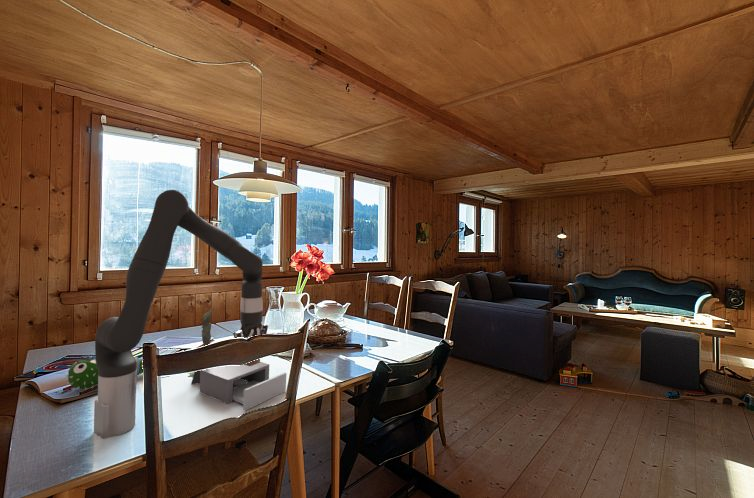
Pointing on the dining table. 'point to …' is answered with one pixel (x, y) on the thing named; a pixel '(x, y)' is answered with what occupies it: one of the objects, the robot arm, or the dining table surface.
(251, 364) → the walnut block
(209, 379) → the grey drawer cabinet
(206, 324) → the statue
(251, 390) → the grey drawer
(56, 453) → the dining table surface
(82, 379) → the toy
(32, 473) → the dining table surface
